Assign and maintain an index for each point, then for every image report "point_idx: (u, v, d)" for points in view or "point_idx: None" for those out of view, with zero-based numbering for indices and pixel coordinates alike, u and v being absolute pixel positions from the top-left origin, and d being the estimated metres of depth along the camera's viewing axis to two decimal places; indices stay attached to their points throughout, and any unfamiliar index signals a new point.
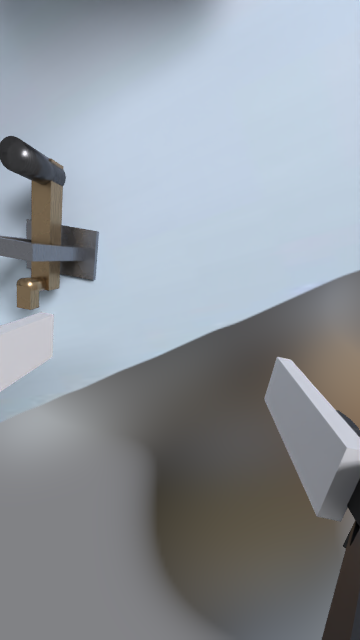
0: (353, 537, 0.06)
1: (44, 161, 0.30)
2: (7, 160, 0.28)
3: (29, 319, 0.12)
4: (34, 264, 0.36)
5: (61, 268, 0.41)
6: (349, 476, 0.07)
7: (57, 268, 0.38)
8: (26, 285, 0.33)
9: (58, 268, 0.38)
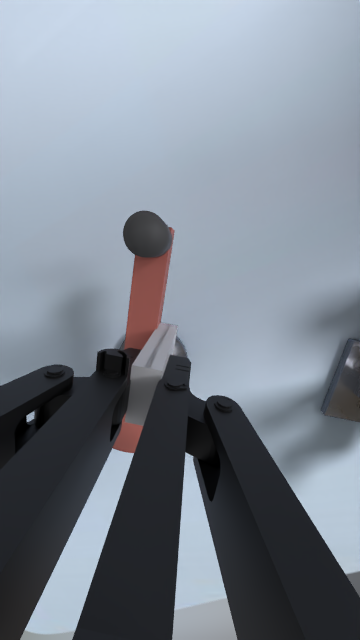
0: None
1: None
2: None
3: (161, 329, 0.14)
4: None
5: None
6: (150, 390, 0.10)
7: None
8: None
9: None
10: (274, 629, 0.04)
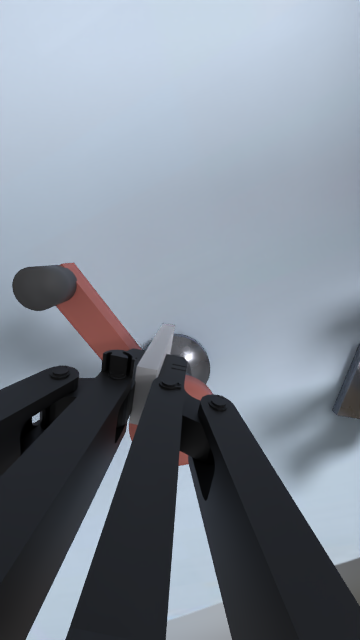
0: None
1: None
2: None
3: (164, 330, 0.14)
4: None
5: None
6: (145, 389, 0.10)
7: None
8: None
9: None
10: (267, 627, 0.04)
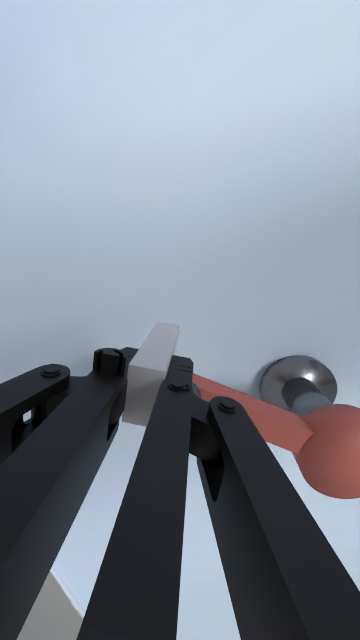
0: None
1: None
2: None
3: (159, 328, 0.14)
4: None
5: None
6: (153, 391, 0.10)
7: None
8: None
9: None
10: (278, 631, 0.04)
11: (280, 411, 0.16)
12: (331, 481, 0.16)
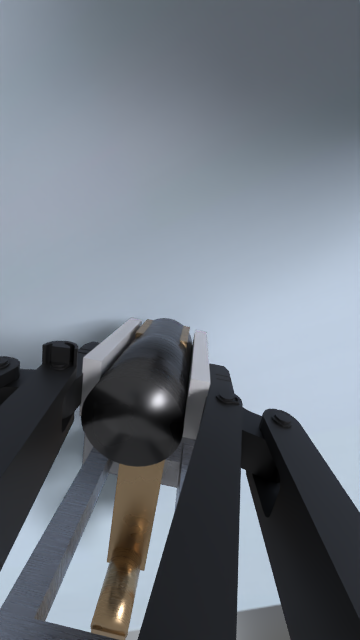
0: None
1: (187, 378, 0.11)
2: (109, 436, 0.08)
3: (129, 324, 0.14)
4: (118, 528, 0.16)
5: None
6: (197, 402, 0.09)
7: None
8: (115, 630, 0.14)
9: None
10: None
11: None
12: None
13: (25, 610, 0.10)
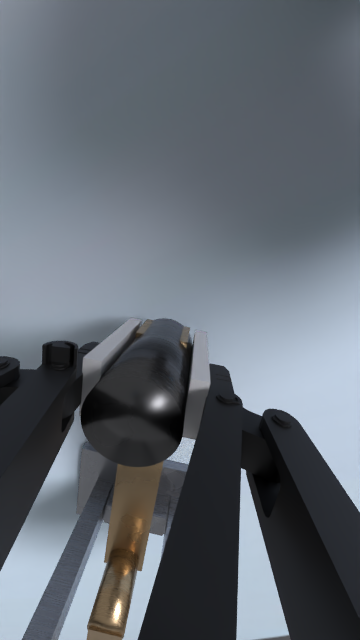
0: None
1: (187, 378, 0.11)
2: (108, 437, 0.08)
3: (129, 324, 0.14)
4: (115, 528, 0.16)
5: None
6: (197, 402, 0.09)
7: None
8: (111, 631, 0.14)
9: None
10: None
11: None
12: None
13: None
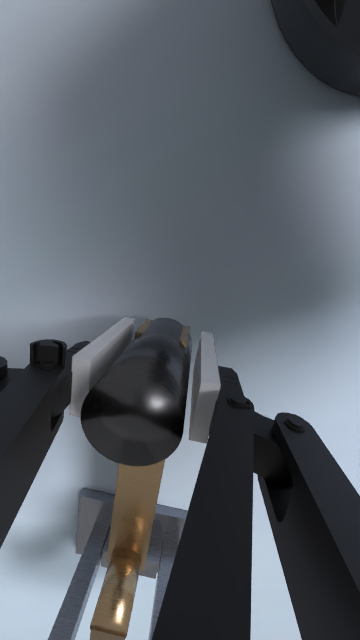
0: None
1: (187, 377, 0.11)
2: (108, 436, 0.08)
3: (122, 323, 0.14)
4: (117, 528, 0.16)
5: None
6: (206, 405, 0.09)
7: None
8: (114, 631, 0.14)
9: None
10: None
11: None
12: None
13: None
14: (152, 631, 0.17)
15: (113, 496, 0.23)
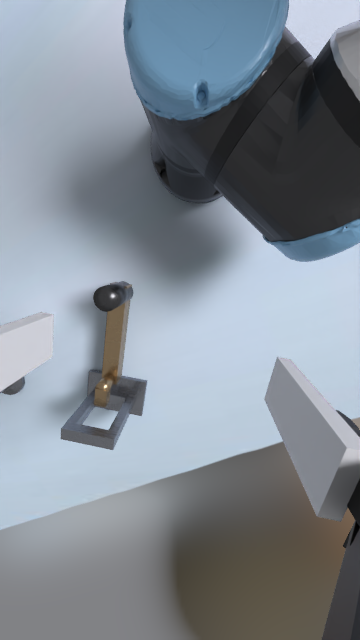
0: (353, 537, 0.06)
1: (124, 294, 0.36)
2: (100, 303, 0.34)
3: (29, 319, 0.12)
4: (105, 364, 0.42)
5: (115, 406, 0.50)
6: (349, 476, 0.07)
7: (121, 363, 0.44)
8: (103, 389, 0.39)
9: (122, 362, 0.44)
10: None
11: None
12: None
13: (73, 422, 0.39)
14: (119, 410, 0.43)
15: None
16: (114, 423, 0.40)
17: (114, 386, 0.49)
